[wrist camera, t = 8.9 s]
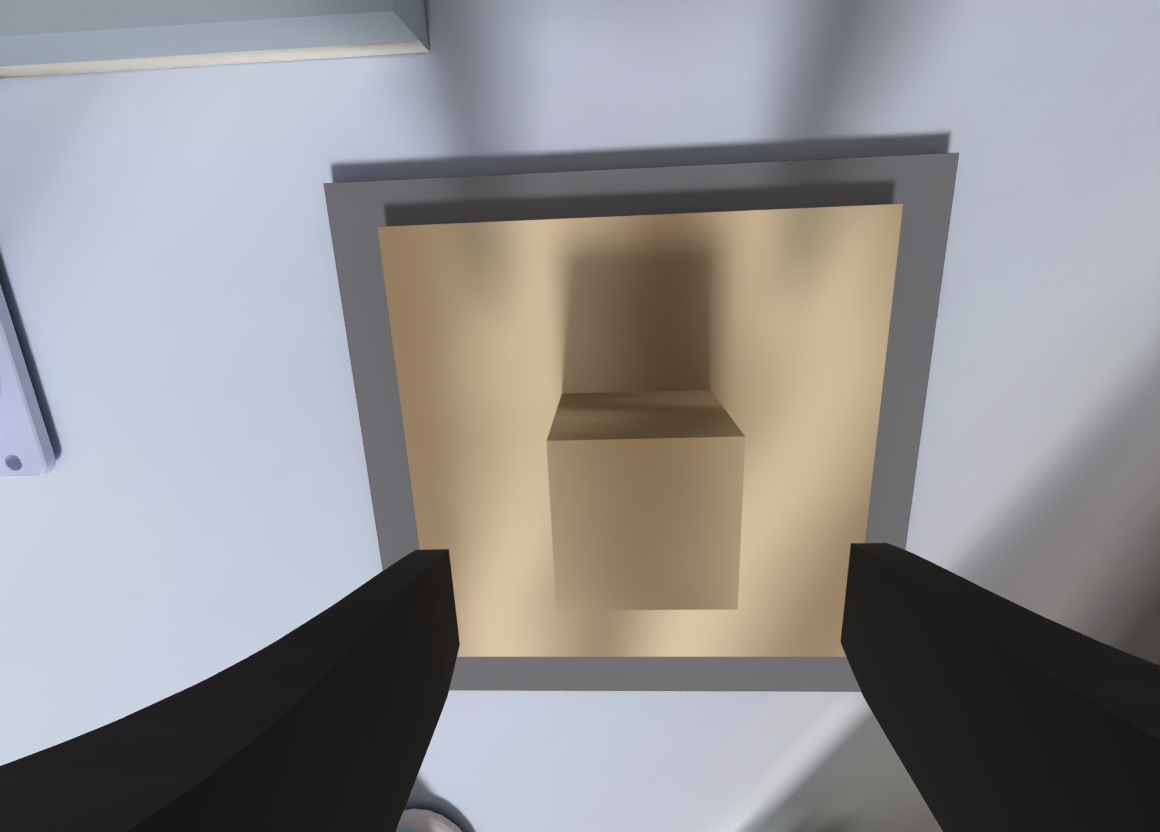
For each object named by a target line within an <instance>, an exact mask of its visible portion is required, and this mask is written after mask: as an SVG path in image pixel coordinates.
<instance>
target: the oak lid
mask: <svg viewBox="0 0 1160 832" xmlns="http://www.w3.org/2000/svg"><path fill="white" fill-rule="evenodd" d="M902 210H903V204H887V205H864V206H841V207H818V208H796V209H773V210H750V211H728V212H705V213H682V214H659V215H637V216H614V217H591V218H568V219H546V220H523V221H500V222H477V223H455V224H432V225H409V226H386V227H377V228H378V236H379V243H380V251H381V259H382V266H383V274H384V281H385V289H386V297H387V304H388V312H389V319H390V327H391V335H392V342H393V350H394V357H395V365H396V373H397V380H398V388H399V396H400V403H401V411H402V418H403V426H404V434H405V441H406V449H407V456H408V464H409V472H410V479H411V487H412V494H413V502H414V510H415V517H416V525H417V533H418V540H419V548H420V550H429V549H449V555H450V563H451V572H452V581H453V589H454V598H455V607H456V615H457V624H458V633H459V641H460V646H459V650H458V655H457V657H846V655H845V652H844V650H843V647H842V645H841V642H840V641H841V632H842V623H843V613H844V604H845V594H846V585H847V575H848V566H849V557H850V547H851V543H865V538H866V529H867V520H868V511H869V503H870V494H871V485H872V476H873V467H874V458H875V449H876V441H877V432H878V423H879V414H880V405H881V396H882V387H883V378H884V370H885V361H886V352H887V343H888V334H889V325H890V316H891V308H892V299H893V290H894V281H895V272H896V263H897V254H898V246H899V237H900V228H901V219H902Z"/></svg>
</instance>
